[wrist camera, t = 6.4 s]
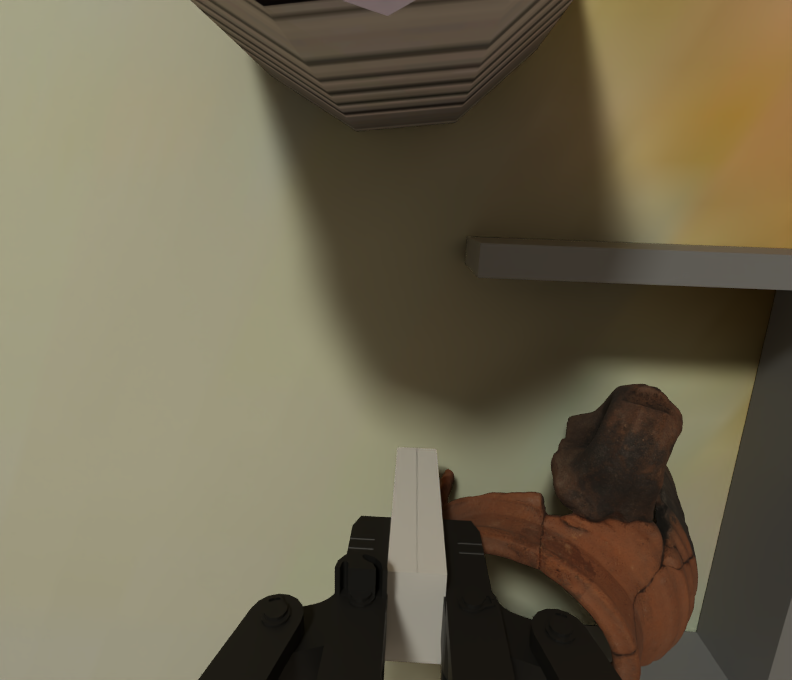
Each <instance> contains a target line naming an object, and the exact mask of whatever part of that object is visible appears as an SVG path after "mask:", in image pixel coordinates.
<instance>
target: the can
mask: <svg viewBox="0 0 792 680" xmlns="http://www.w3.org/2000/svg"><path fill="white" fill-rule="evenodd" d="M191 1H192V2H193V3H194V4H195V5H196V6H197V7H198V8H199V9H201V10H202V11H203V12H204V13H205V14H206V15H207V16H208V17H209V18H210V19H211V20H212V21H213V22H214V23H215V24H217V25H218V26H219V27H220V28H221V29H222V30H223V31H224V32H225V33H226V34H227V35H228V36H229V37H230V38H232V39H233V40H234V41H235V42H236V43H237V44H238V45H239V46H240V47H241V48H242V49H243V50H244V51H245V52H247V53H248V54H249V55H250V56H251V57H252V58H253V59H254V60H255V61H256V62H257V63H258V64H259V65H260V66H261V67H263V68H264V69H265V70H266V71H267V72H268V73H269V74H270V75H271V76H273V77H274V78H276V79H277V80H279V81H280V82H282V83H283V84H285V85H287V86H288V87H290V88H291V89H293V90H294V91H296V92H297V93H299V94H300V95H302V96H303V97H305V98H306V99H308V100H310V101H311V102H313V103H314V104H316V105H317V106H319V107H320V108H322V109H323V110H325V111H326V112H328V113H330V114H331V115H333V116H334V117H336V118H337V119H339V120H340V121H342V122H343V123H345V124H346V125H348V126H349V127H351V128H353V129H354V130H356V131H365V130H377V129H388V128H399V127H411V126H422V125H433V124H445V123H455V122H456V121H457V120H459V119H460V118H461V117H462V116H463V115H464V114H465V113H466V112H467V111H469V110H470V109H471V108H472V107H473V106H474V105H475V104H476V103H478V102H479V101H480V100H481V99H482V98H483V97H484V96H485V95H486V94H488V93H489V92H490V91H491V90H492V89H493V88H494V87H495V86H496V85H498V84H499V83H500V82H501V81H502V80H503V79H504V78H505V77H507V76H508V75H509V74H510V73H511V72H512V71H513V70H514V69H515V68H517V67H518V66H519V65H520V64H521V63H522V62H523V61H524V60H525V59H527V58H528V57H529V56H530V55H531V54H532V53H533V52H534V51H536V49H537V48H538V47H539V45H540V44H541V43H542V41H543V40H544V39H545V37H546V36H547V35H548V33H549V32H550V31H551V29H552V28H553V27H554V25H555V24H556V22H557V21H558V20H559V18H560V17H561V16H562V14H563V13H564V12H565V10H566V9H567V8H568V6H569V5H570V4H571V2H572V1H573V0H191Z"/></svg>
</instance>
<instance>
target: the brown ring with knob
mask: <svg viewBox="0 0 792 680" xmlns="http://www.w3.org/2000/svg"><path fill="white" fill-rule="evenodd" d="M682 425H683V420H682V414H681V413H680V411H679V409H678V408H677V407H676V406H675V405H674V404H673V403H672V402H671V401H670V400H669V399H668V397H667V396H666V395H665V394H664V393H663V392H661V390H660V389H658V388H656V387H652V386H648V385H646V384H631V385H625V386H619V387H617V388H616V389H615V390H614V391H613V392H612V393H611V394H610V396H609V397H608V398H607V399H606V400H605V402H604V403H603V404H602V405H601V406H600V407H599V408H598V409H597V410H596V411H594V412H591V413H585V414H579V415H575V416H571V417H569V418H568V422H567V429H566V438H565V439H562V440H561V442H560V444H559V447H558V450H557V452H556V453H554V455H553V458H552V460H551V471H552V475H553V486H554V490H555V493H556V495H557V497H558V498H559V500H560V501H561V502H562V504H563V505H564V506H566V507H567V508H569V509H570V510H572V511H573V513H571V514H569V515H564V516H559V515H548V514H547V513H546V511H545V509H546V508H545V506H544V498H543V496H542V494H541V493H537V492H511V493H495V492H492V493H487V494H484V495H479V496H473V497H464V498H459V499H456V500H453V501H451V502H449V503H448V497H449V495H450V492H451V490H452V485H453V481H454V474H453V472H452V471H451V470H449V469H447V470H445V472H444V474H443V476H442V478H441V479H440V481H439V483H440V495H441V507H442V519H447V520H465V521H472V523H473V524H474V525H475V526H476V527H477V529H478V530H479V531H480V535H481V540H482V546H483V551H484V553H485V554H491V555H496V556H501V557H505V558H507V559H511V560H513V561H516V562H518V563H521V564H525V565H528V566H530V567H532V568H535V569H538V570H541V571H542V572H543V573H544V574H545V575H546V576H548V577H549V578H551V579H552V580H554V581H555V582H556V583H558V584H559V585H560V586H562V587H563V588H564V589H565V590H566V591H567V592H568V593H570V594H571V595H572V596H573V597H574V598H575V599H576V600H577V601H578V602H579V603H580V604H581V605H582V606H583V607H584V608H585V609H586V610H587V611H588V612H589V614H590V615H591V616H592V617H593V618H594V620H595V621H596V623H597V624H598V626H599V627H600V629H601V630H602V631H603V633H604V635H605V637H606V639H607V641H608V644H609V646H610V649H611V653H612V662H610V663H611V664H612V666H613V667H614V669H615V670H616V672H617V673H618V674H619V676H620V677H621V679H622V680H640V675H641V666H647V665H649V664H651V663H652V662H653V661H657V660H659V659H661V658H662V657H663V656H664V655H665V654H666V653H667V652H668V651H669V650H670V649H672V648H673V647H674V646H675V645H676V644H677V642H678V641H679V640H680V639H681V637H682V635H683V633H684V631H685V629H686V626H687V623H688V621H689V619H690V617H691V614H692V611H693V609H694V600H695V595H696V591H697V585H698V571H697V563H696V557H695V552H694V547H693V543H692V541H691V538H690V535H689V531H688V527H687V525H686V523H685V517H684V513H683V510H682V507H681V504H680V501H679V499H678V496H677V492H676V488H675V484H674V481H673V478H672V476H671V473H670V471H669V469H668V467H667V466H666V464H667V461H668V459H669V457H670V455H671V452H672V450H673V447H674V444H675V442H676V440H677V438H678V436H679V435H680V433H681V432H682ZM654 508H655V510H656V512H655V516H656V522H657V524H655V523H654V522H653V512H654Z"/></svg>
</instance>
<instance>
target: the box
mask: <svg viewBox="0 0 792 680" xmlns="http://www.w3.org/2000/svg"><path fill="white" fill-rule="evenodd" d="M465 264H466V265H467V266H468V268H469V269H470V270H471V271H472V272H473V273H474V274H475V275H476V276H477V277H478V278H500V279H524V280H549V281H574V282H599V283H623V284H648V285H673V286H698V287H723V288H747V289H772V290H776V294H775V298H774V303H773V307H772V311H771V315H770V320H769V324H768V328H767V333H766V337H765V341H764V345H763V350H762V354H761V358H760V363H759V367H758V371H757V375H756V380H755V384H754V388H753V392H752V397H751V401H750V405H749V410H748V414H747V418H746V422H745V427H744V431H743V435H742V440H741V444H740V448H739V452H738V457H737V461H736V465H735V469H734V474H733V478H732V482H731V487H730V491H729V495H728V499H727V504H726V508H725V512H724V516H723V521H722V525H721V529H720V534H719V538H718V542H717V546H716V551H715V555H714V559H713V564H712V568H711V572H710V576H709V581H708V585H707V589H706V593H705V598H704V602H703V606H702V611H701V615H700V619H699V623H698V628H697V632H685V631H684V633H683V635H682V637H681V639H680V640H679V641H678V642H677V644H676V645H675V646H674V647H673V648H672V649H670V650H669V651H668V652H667V653H666V654H665V655H664V656H663V657H662V658H661V659H659V660H657V661H653V662H652V663H651V664H649V665H647V666H641V675H640V680H792V249H784V248H757V247H731V246H704V245H678V244H651V243H625V242H598V241H572V240H546V239H519V238H493V237H467V243H466V257H465ZM584 626H585V627H586V628H587V630H588V631H589V633H590V634H591V636H592V637H593V638H594V640H595V641H596V643H597V644H598V646H599V647H600V649H601V650H602V651H603V653H604V654H605V656H606V657H607V659H608V660H609V662H612V653H611V649H610V646H609V644H608V641H607V639H606V637H605V635H604V633H603V631H602V630H601V629H600V627H599V626H588V625H584ZM441 671H442V661H441Z"/></svg>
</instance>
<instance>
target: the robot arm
mask: <svg viewBox="0 0 792 680" xmlns="http://www.w3.org/2000/svg"><path fill="white" fill-rule="evenodd" d="M385 661H399V662H414V663H430V664H441V661H442V671H441V680H622V679H621V677H620V676H619V674H618V673H617V672H616V670H615V669H614V667H613V666H612V664H611V663H610V662H609V660H608V659H607V657H606V656H605V654H604V653H603V651H602V650H601V649H600V647H599V646H598V644H597V643H596V641H595V640H594V638H593V637H592V636H591V634H590V633H589V631H588V630H587V628H586V627H585V626H584V625H583V624H582V623H581V622H580V621H579V620H578V619H577V618H576V617H574V616H572V615H571V614H569V613H567V612H564V611H561V610H558V609H545V610H542V611H539V612H537V614H536V615H535V616H534V617H533V619H532V620H531V619H528V618H525V617H522V616H519V615H517V614H514V613H512V612H510V611H508V610H507V609H505V608H504V607H502V606H501V605H500V604H499V602H498V600H497V598H496V596H495V595H494V594H493V593H492V591H491V586H490V581H489V576H488V571H487V566H486V561H485V556H484V551H483V546H482V540H481V535H480V531H479V530H478V529H477V527H476V526H475V525H474V524H473V523H472V521H465V520H447V519H442V507H441V495H440V483H439V471H438V459H437V449H429V448H409V447H397V456H396V468H395V480H394V492H393V504H392V516H391V518H390V517H372V516H361V517H360V518H359V519H358V520H357V521H356V522H355V524H354V525H353V527H352V531H351V536H350V541H349V546H348V551H347V554H346V555H344V556H343V557H342V558H341V559H339V560H338V562H337V564H336V566H335V594H334V595H332V596H331V597H330V598H328V599H327V600H325V601H323V602H320V603H317V604H313V605H308V606H302V604H301V603H300V602H299V600H298V599H297V598H295V597H293V596H290V595H286V594H276V595H271V596H267V597H265V598H263V599H261V600H259V601H258V602H257V603H256V604H255V605H254V606H253V607H252V608H251V609H250V610H249V612H248V613H247V615H246V616H245V617H244V619H243V620H242V621H241V623H240V624H239V625H238V627H237V628H236V629H235V631H234V632H233V633H232V635H231V636H230V637H229V639H228V640H227V642H226V643H225V644H224V646H223V647H222V648H221V650H220V651H219V652H218V654H217V655H216V656H215V658H214V659H213V660H212V662H211V663H210V664H209V666H208V667H207V669H206V670H205V671H204V673H203V674H202V675H201V677H200V678H199V679H198V680H384V663H385Z"/></svg>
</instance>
